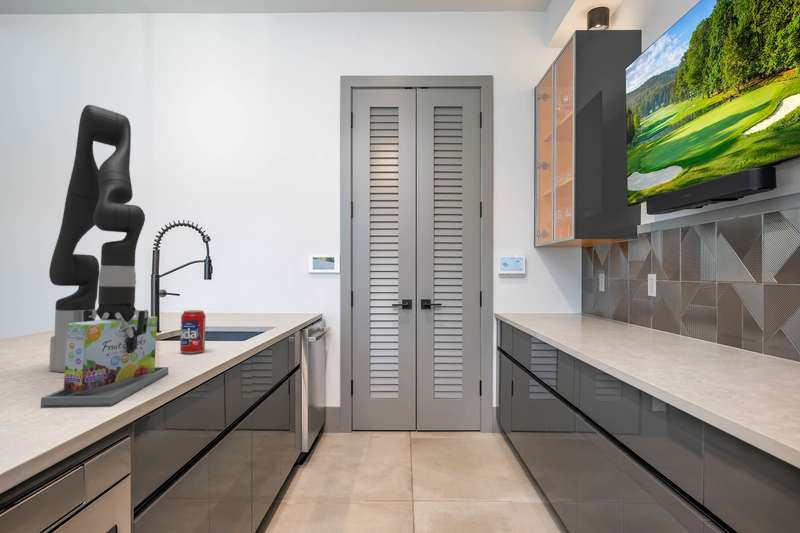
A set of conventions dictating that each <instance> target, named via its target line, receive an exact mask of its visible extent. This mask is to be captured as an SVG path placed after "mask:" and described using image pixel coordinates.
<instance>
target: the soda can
mask: <svg viewBox="0 0 800 533" xmlns="http://www.w3.org/2000/svg"><path fill="white" fill-rule="evenodd" d="M204 311H205V310H201V309H193V310H192V309H188V310H187V309H186V310H183V313H182V314H181V317H180V318H181V319H180V342H179V343H180V348H179V349H180V352H181V353H182V354H184V355H197V354H196V353H198V354H201V353H202V352H204V351H205V346H206V345H205V344H206V343H205V342H206V318H207V316H206V314H205V312H204Z"/></svg>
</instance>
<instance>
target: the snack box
mask: <svg viewBox="0 0 800 533" xmlns="http://www.w3.org/2000/svg"><path fill="white" fill-rule="evenodd" d="M122 322H123V321H121V320H117V319H108V320H101V319H97V320H96V319H95V321H85V322H75V323H68V327H67V343H66V361H65V372H64V378H63V379H64V380H63V383H64V384H63V389H64V390H71V391H78V392H83V391H86V390H90V389H93V388H97V387H101V386H104V385H108V384H112V383H116V382H119V381H123V380H127V379H130V378H134V377H138V376H142V375H145V374H149V373H153V372H154V371H155V367H156V364H155V363H156V349H157V347H156V346H157V328H158V316H152V315H151V316H150V315H148V321H147V330H146V333H145V334H142V335H139V336H138V337H137V349H136V350H135V351H134V352H133V353H127V343H128V338H129V336H128V334H127V332H126V331H125V330H124V329H123V327H122ZM127 323H128V325H131V324H132V323H134V324H135V328H136V330H137V324H138V319H137V318H136V315H134V316H133V318H132V319H131V320H130V321H129V322H127Z"/></svg>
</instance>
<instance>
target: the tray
mask: <svg viewBox="0 0 800 533" xmlns="http://www.w3.org/2000/svg"><path fill="white" fill-rule="evenodd" d="M168 375H169V366H155V371H154V372H153V373H149V374H145V375H142V376H138V377H134V378H130V379H127V380H123V381H119V382H116V383H112V384H108V385H104V386H101V387H97V388H93V389H90V390H86V391H83V392H78V391H71V390H64V388H62V389H60V390H56V391H54V392H52V393H50V394H48V395H45V396H42V397H41V398H40V408H86V407H87V408H88V407H90V408H94V407H95V408H96V407H101V408H102V407H112V406H114V405H116V404H117V403H120V402H122V401H123V400H125V399H126V398H128V397H130V396H133V395H134V394H136V393H137V392H139V391H141V390H143V389H144V388H146V387H148V386H150V385H151V384H154V383H155V382H157V381H159V380H160V379H162V378H164V377H166V376H168Z"/></svg>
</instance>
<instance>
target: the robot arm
mask: <svg viewBox="0 0 800 533" xmlns="http://www.w3.org/2000/svg"><path fill="white" fill-rule="evenodd" d="M78 122H79V123H78V124H79V125H78V130H77V132H78V133H77V140H76V147H75V148H76V149H75V156H74V161H73V166H72V171H71V175H70V179H69V183H68V186H67V187H68V188H67V191H66V197H65V202H64V208H63V215H62V221H61V223H60V224H61V226H60V230H59V234H58V237H57V240H56V243H55V246H54V250H53V253H52V255H51V256H52V257H51V261H50V264H49V271H48V272H49V274H48V277H49V279H50V282H51V283H52V284H53V285H55V286H58V287H59V286H60V287H77V290H76V291H75V292H74V293H71V294H69V295H67V296H65V297H61V298H59V299H57V300H56V301H55V307H54V308H55V309H54V311H55V314H54V316H55V317H54V335H53V336H51V337H50V346H49V366H48V368H49V371H50V372H57V373H65V361H66V343H67V327H68V323H75V322H85V321H95V320H96V318H97V317H98V318H99V320H108V319H117V320H121V321H123V322H122V327H123V329H124V330H125V331H126V332H127V334H128V336H129V338H128V343H127V353H133V352H134V351H135V350H136V349H137V337H138V336H139V335H142V334H145V333H146V330H147V321H148V316H149V310H147V309H144V310H141V309H139V310H137V309H136V308H135V304H136V284H137V279H136V276H137V275H136V250H137V246H138V245H137V244H138V241H139V239H140V236H141V233H142V230H143V227H144V225H145V222H146V215H145V212H144V210H143V209H142V208H141V206H138V205H135V204H129V202H131V201H132V199H133V195H134V194H133V193H134V192H133V186H132V179H131V174H130V173H131V172H130V162H131V146H132V144H131V143H132V142H131V140H132V139H131V138H132V127H131V123H130V120H129V118H128V117H127V116H126V115H124V114H122V113H118V112H115V111H113V110H109V109H106V108H102V107H100V106H97V105H93V104H86V105H85V106H84V107H83V109H82V111H81V113H80V117H79V121H78ZM94 142H96V143H100V144H104V145H107V146H112V147H114V148H115V149H114V151H113V153H112V154H111V155H110V156H108V158H106V159H105V160H104V161H103V162H102V164H101V165H100V167H98V165H97V162H96V160H95V155H94ZM94 227H96V228H98V230H100V231H103V232H111V233H112V232H114V233H125V236H124V238H122V239H121V240H113V241H106V242H104V243H103V244H101V249H100V250H101V251H100V255H101V256H100V263H99V261H98V258H97V257H96V256H94V255H92V254H80V253H78V254H77V253H74V252H75V250H76V248H77V246H78V243H79V242H80V241H81V240H82V238H83V237H84V236H85V235H86V234H87V233H88V232H89V231H90V230H92V229H93V228H94ZM97 300H98V302H97ZM96 303H98V307H97V309H96ZM135 316H136V318H137V319H138V324H137V330H136V328H135V324H134V323H132V324H131V325H128V323H127V322H129V321H130V320H131V319H132V318H133V317H135Z"/></svg>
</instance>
